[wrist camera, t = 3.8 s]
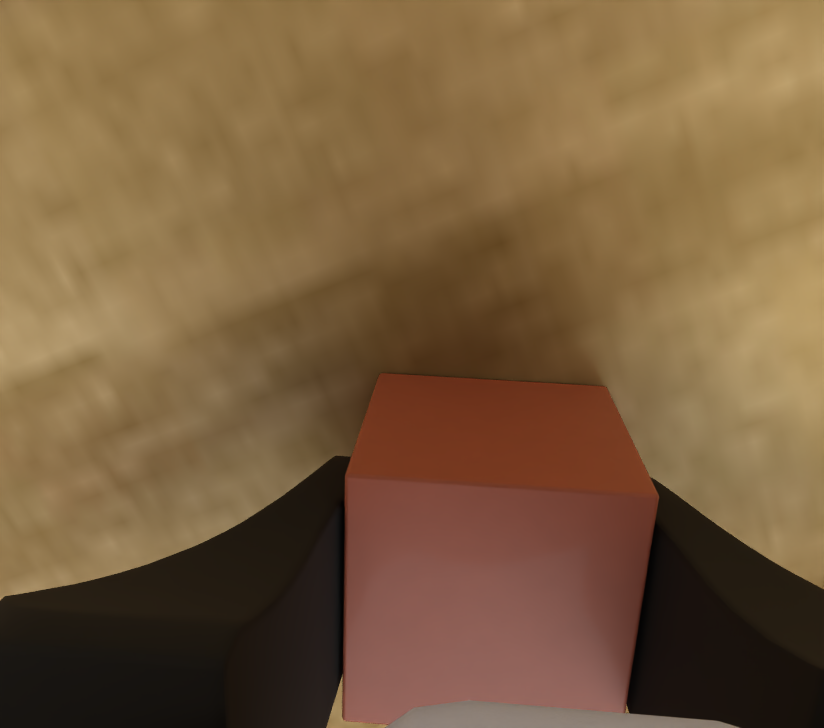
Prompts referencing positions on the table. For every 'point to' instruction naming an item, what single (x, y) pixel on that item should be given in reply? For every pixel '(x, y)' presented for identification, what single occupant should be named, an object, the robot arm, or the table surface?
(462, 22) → the table surface
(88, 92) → the table surface
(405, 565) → the block
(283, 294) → the table surface
